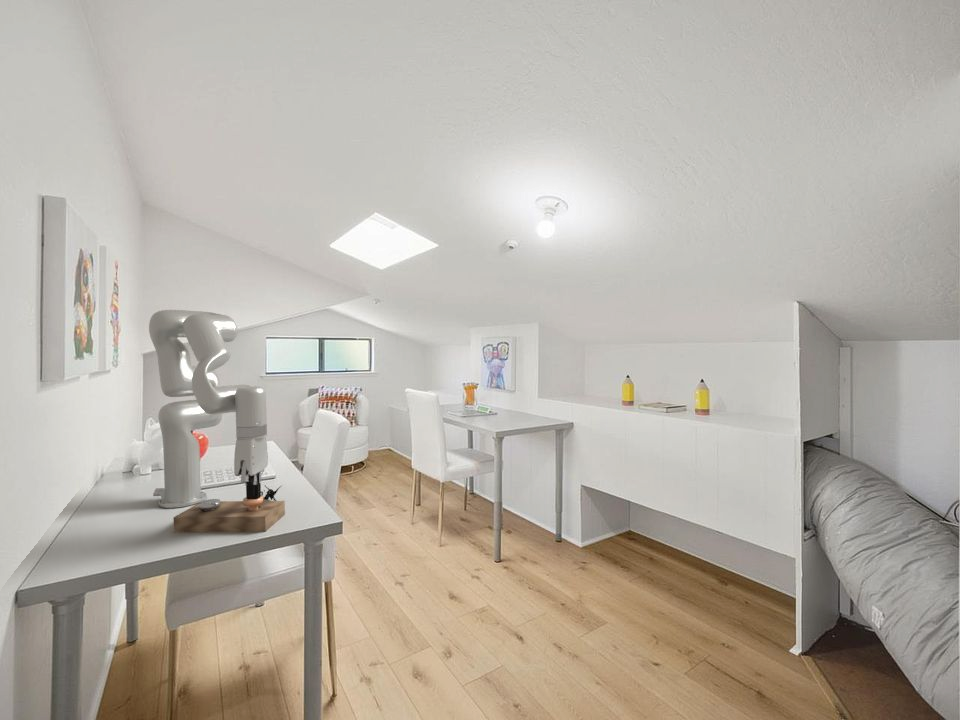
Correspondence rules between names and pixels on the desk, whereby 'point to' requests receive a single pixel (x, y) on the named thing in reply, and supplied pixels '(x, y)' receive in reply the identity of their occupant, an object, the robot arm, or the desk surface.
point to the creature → (269, 494)
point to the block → (230, 517)
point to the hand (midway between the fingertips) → (253, 498)
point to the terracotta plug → (253, 503)
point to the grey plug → (209, 504)
